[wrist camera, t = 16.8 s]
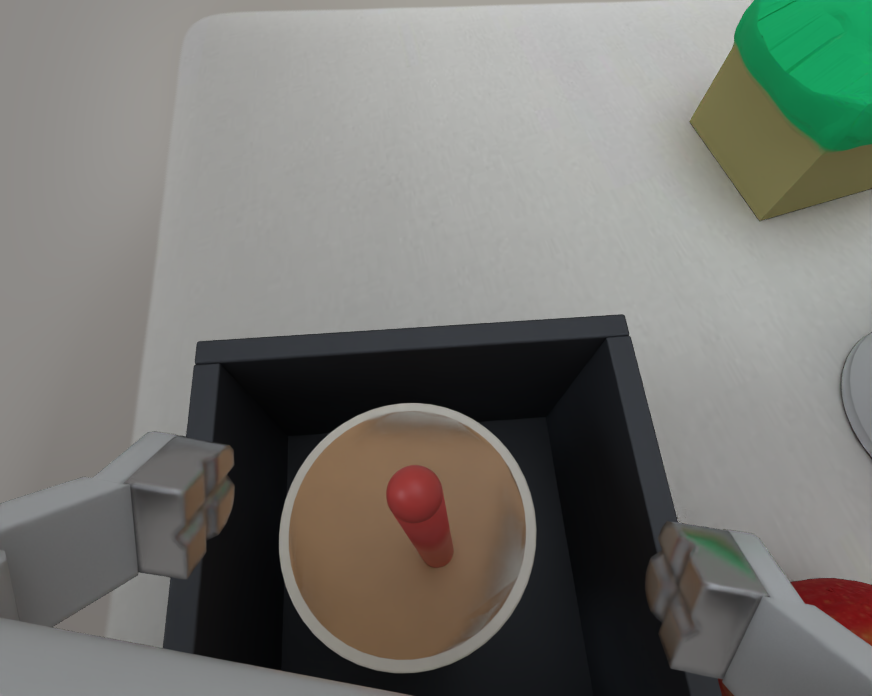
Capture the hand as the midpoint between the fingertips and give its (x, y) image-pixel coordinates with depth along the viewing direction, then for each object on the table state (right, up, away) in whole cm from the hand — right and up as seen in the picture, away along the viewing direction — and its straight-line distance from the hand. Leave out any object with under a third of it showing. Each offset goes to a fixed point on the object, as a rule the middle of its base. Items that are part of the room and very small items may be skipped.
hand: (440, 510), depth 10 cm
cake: (+21, +15, +23) cm, 35 cm away
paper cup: (0, -6, +12) cm, 13 cm away
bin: (0, -6, +13) cm, 15 cm away
